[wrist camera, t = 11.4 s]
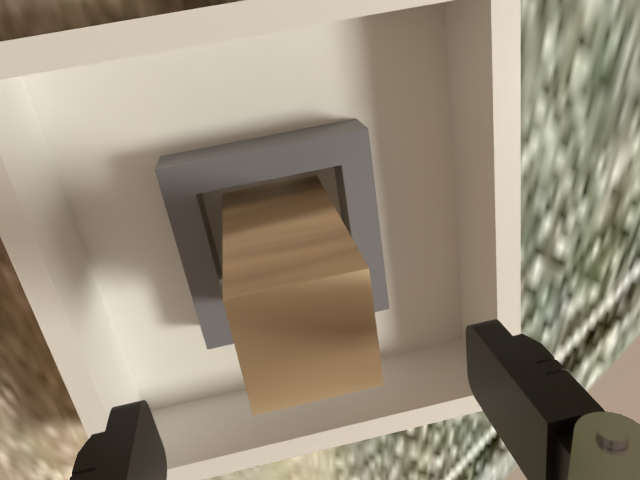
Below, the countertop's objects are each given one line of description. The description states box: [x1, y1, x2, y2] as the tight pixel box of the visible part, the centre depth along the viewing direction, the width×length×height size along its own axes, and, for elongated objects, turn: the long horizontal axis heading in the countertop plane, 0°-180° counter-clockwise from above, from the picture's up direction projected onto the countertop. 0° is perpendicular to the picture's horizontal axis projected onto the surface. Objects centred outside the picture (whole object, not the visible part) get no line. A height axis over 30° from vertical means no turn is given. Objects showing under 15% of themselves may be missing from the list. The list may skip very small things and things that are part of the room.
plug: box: [222, 175, 384, 416], centre depth 19 cm, size 4×4×9 cm
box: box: [0, 0, 520, 480], centre depth 22 cm, size 18×18×5 cm
